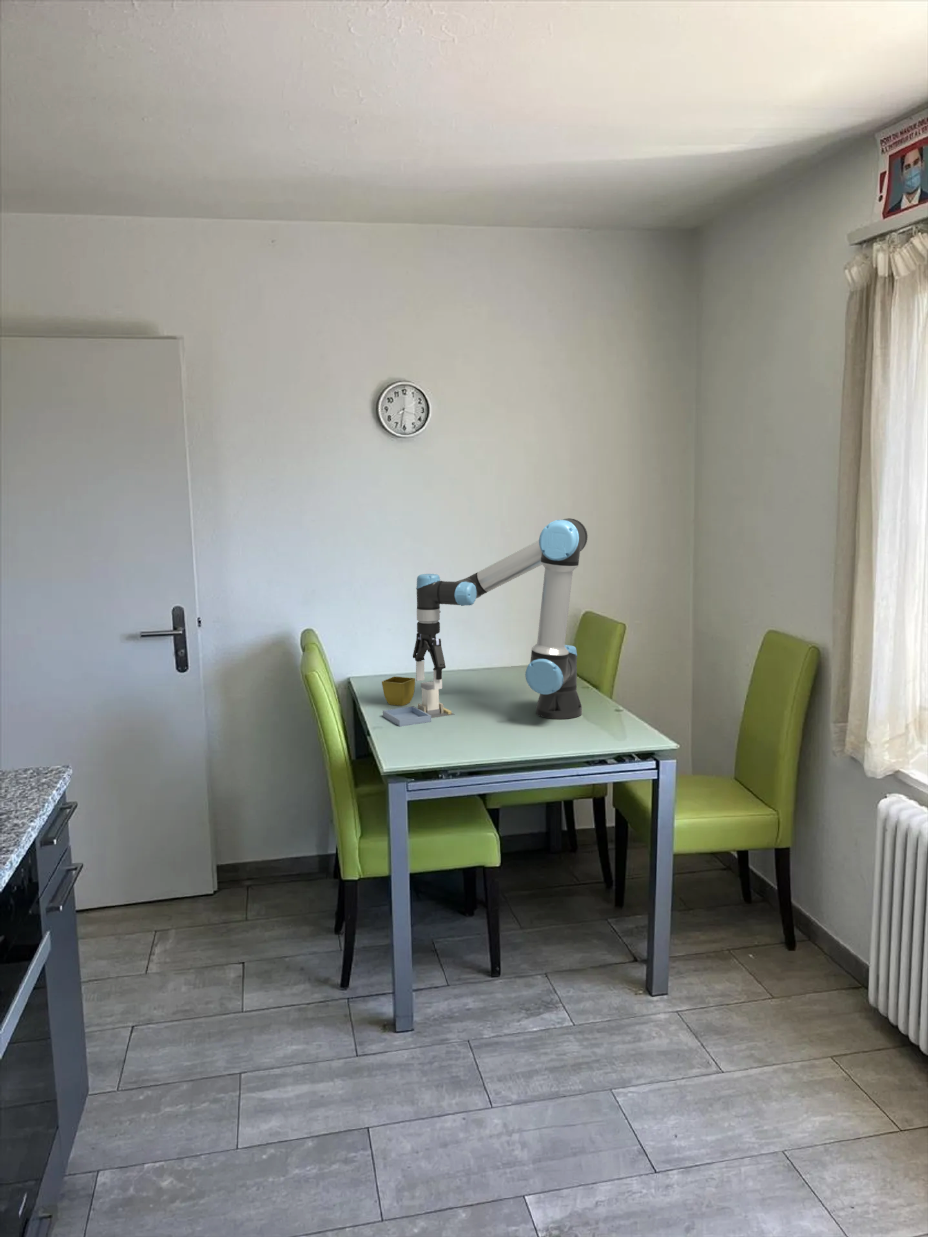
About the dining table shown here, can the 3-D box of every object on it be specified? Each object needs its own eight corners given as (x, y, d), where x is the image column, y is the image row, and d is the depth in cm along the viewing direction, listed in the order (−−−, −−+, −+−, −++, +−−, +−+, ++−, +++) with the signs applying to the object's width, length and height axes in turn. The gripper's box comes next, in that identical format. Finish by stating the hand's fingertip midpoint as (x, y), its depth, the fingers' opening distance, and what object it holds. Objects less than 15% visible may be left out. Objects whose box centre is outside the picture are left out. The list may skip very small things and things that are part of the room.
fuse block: (454, 715, 300) (454, 705, 300) (427, 720, 296) (427, 709, 295) (439, 707, 311) (438, 697, 310) (412, 711, 306) (412, 701, 306)
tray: (431, 723, 292) (431, 715, 291) (399, 728, 287) (399, 720, 287) (413, 713, 304) (413, 706, 304) (382, 717, 299) (382, 710, 299)
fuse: (439, 713, 302) (439, 683, 300) (427, 715, 300) (426, 685, 298) (433, 710, 306) (433, 681, 304) (421, 712, 304) (420, 682, 302)
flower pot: (381, 706, 314) (380, 681, 313) (395, 700, 322) (394, 675, 320) (403, 709, 310) (402, 683, 309) (416, 703, 318) (416, 678, 316)
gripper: (455, 626, 289) (456, 691, 292) (422, 615, 310) (423, 675, 314) (434, 628, 285) (434, 694, 289) (402, 616, 307) (403, 678, 310)
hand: (428, 684), depth 301 cm, fingers open, 13 cm apart
